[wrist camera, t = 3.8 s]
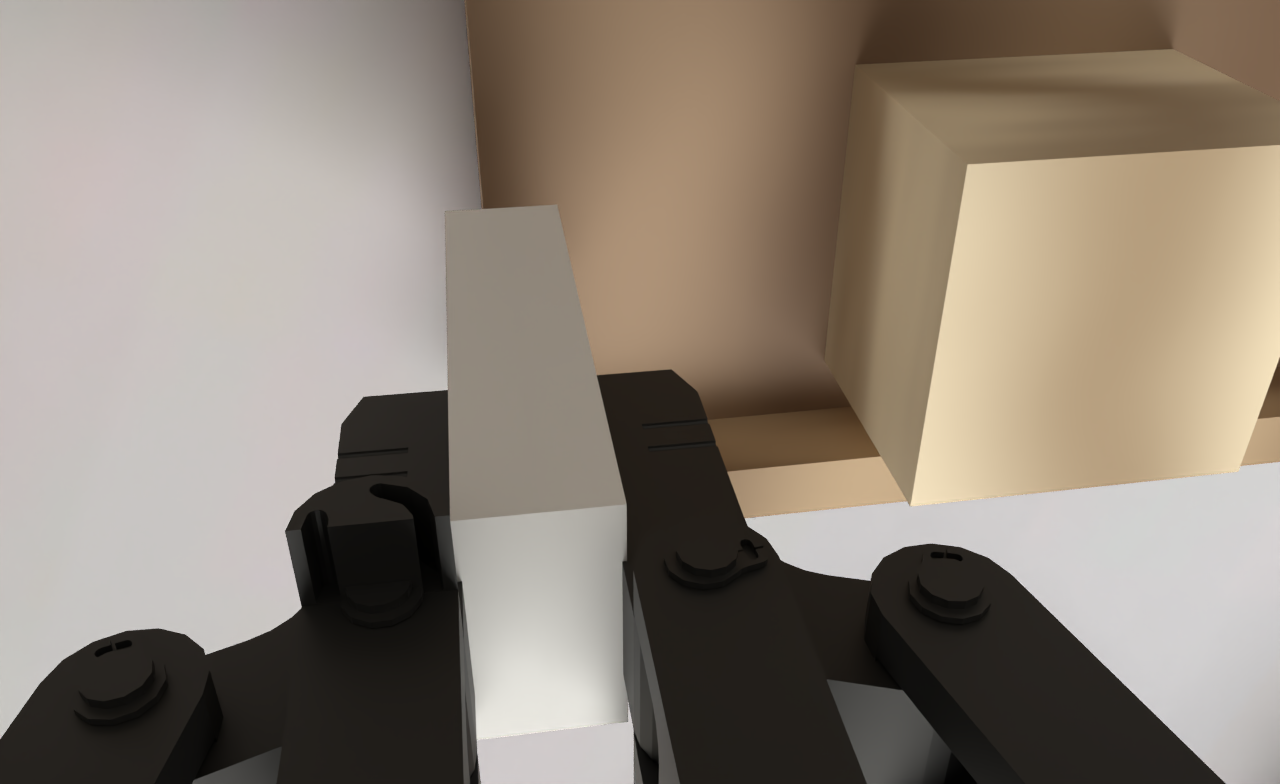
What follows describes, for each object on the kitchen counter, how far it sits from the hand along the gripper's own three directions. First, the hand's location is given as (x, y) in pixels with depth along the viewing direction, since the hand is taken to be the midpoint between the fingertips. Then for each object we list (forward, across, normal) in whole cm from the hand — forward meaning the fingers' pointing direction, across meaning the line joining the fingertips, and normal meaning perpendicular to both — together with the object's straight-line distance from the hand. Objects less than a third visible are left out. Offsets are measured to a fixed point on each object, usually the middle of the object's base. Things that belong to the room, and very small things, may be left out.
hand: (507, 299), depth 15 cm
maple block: (+2, +8, 0) cm, 8 cm away
